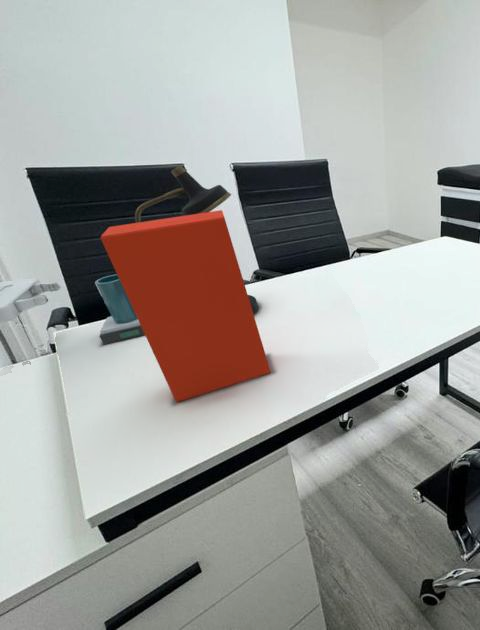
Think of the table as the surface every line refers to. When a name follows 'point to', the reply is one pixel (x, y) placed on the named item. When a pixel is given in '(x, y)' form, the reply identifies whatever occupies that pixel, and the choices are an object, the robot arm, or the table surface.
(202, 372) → the file binder
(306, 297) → the table surface
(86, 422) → the table surface
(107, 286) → the cup
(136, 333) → the scale
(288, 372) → the table surface
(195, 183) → the lamp
